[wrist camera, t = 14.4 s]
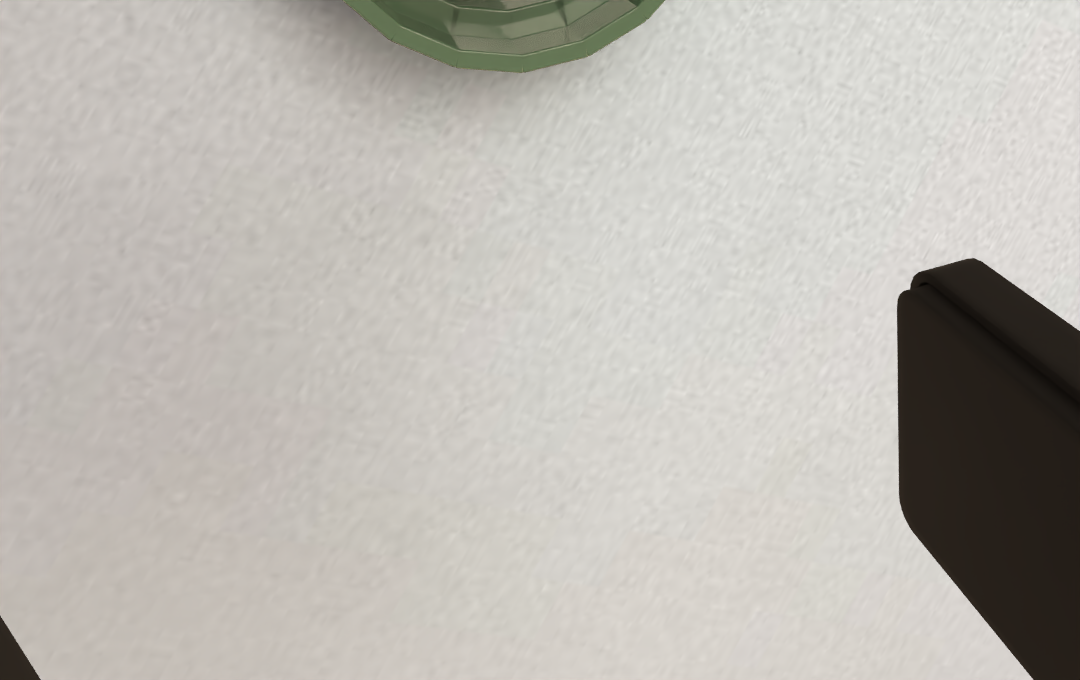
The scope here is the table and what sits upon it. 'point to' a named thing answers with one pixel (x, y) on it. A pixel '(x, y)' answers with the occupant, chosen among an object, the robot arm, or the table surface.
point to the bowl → (504, 29)
